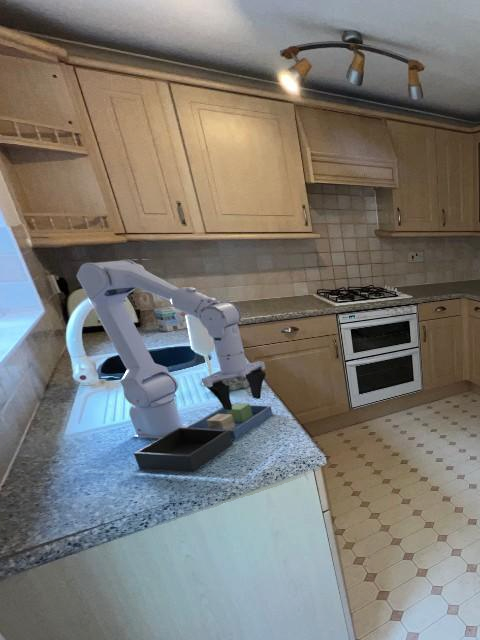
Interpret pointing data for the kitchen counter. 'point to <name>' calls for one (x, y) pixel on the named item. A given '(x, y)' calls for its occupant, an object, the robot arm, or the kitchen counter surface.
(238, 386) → the egg carton
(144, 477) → the kitchen counter surface
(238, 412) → the green cube
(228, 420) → the cream cube
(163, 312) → the light bulb box
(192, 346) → the champagne flute
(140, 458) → the black basket
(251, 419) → the blue box
